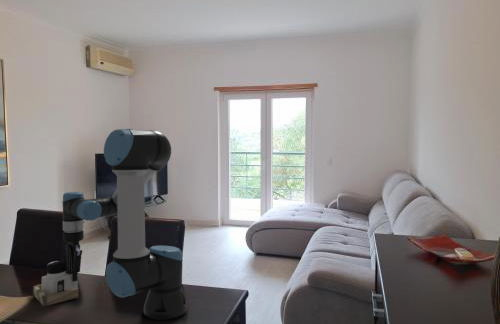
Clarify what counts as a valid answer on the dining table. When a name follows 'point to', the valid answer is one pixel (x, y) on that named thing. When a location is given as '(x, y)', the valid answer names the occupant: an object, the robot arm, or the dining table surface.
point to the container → (56, 278)
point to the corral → (53, 295)
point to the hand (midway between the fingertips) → (73, 288)
